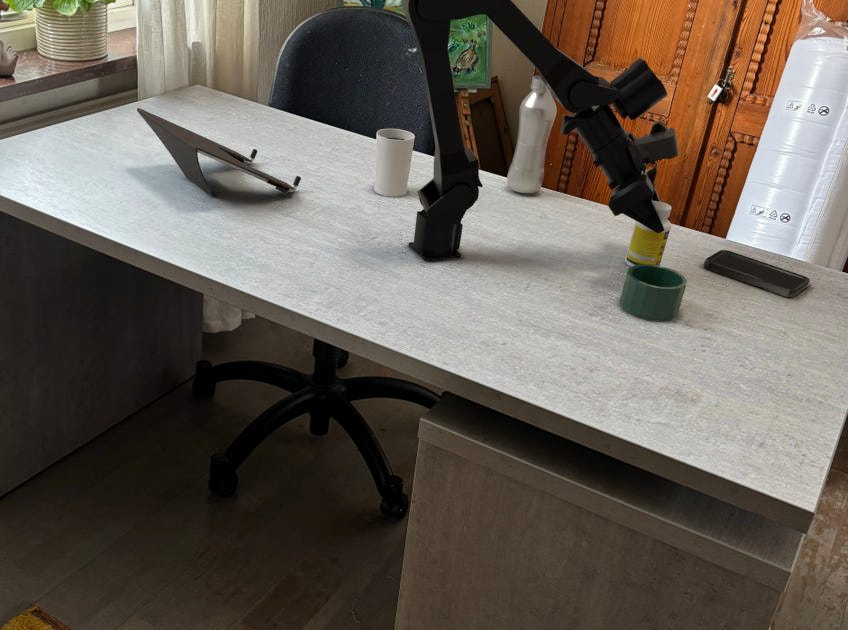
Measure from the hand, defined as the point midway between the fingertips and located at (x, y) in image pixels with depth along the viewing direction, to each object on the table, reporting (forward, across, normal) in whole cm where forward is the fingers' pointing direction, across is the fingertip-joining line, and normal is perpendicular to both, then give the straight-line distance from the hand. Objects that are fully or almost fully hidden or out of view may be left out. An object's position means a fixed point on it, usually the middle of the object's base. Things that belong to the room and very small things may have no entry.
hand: (662, 225), depth 150 cm
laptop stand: (-46, +4, +58) cm, 74 cm away
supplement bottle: (+4, 0, +6) cm, 7 cm away
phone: (+17, +6, -6) cm, 19 cm away
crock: (+6, -14, +5) cm, 16 cm away
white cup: (-27, +16, +39) cm, 50 cm away
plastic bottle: (-12, +28, +23) cm, 38 cm away
